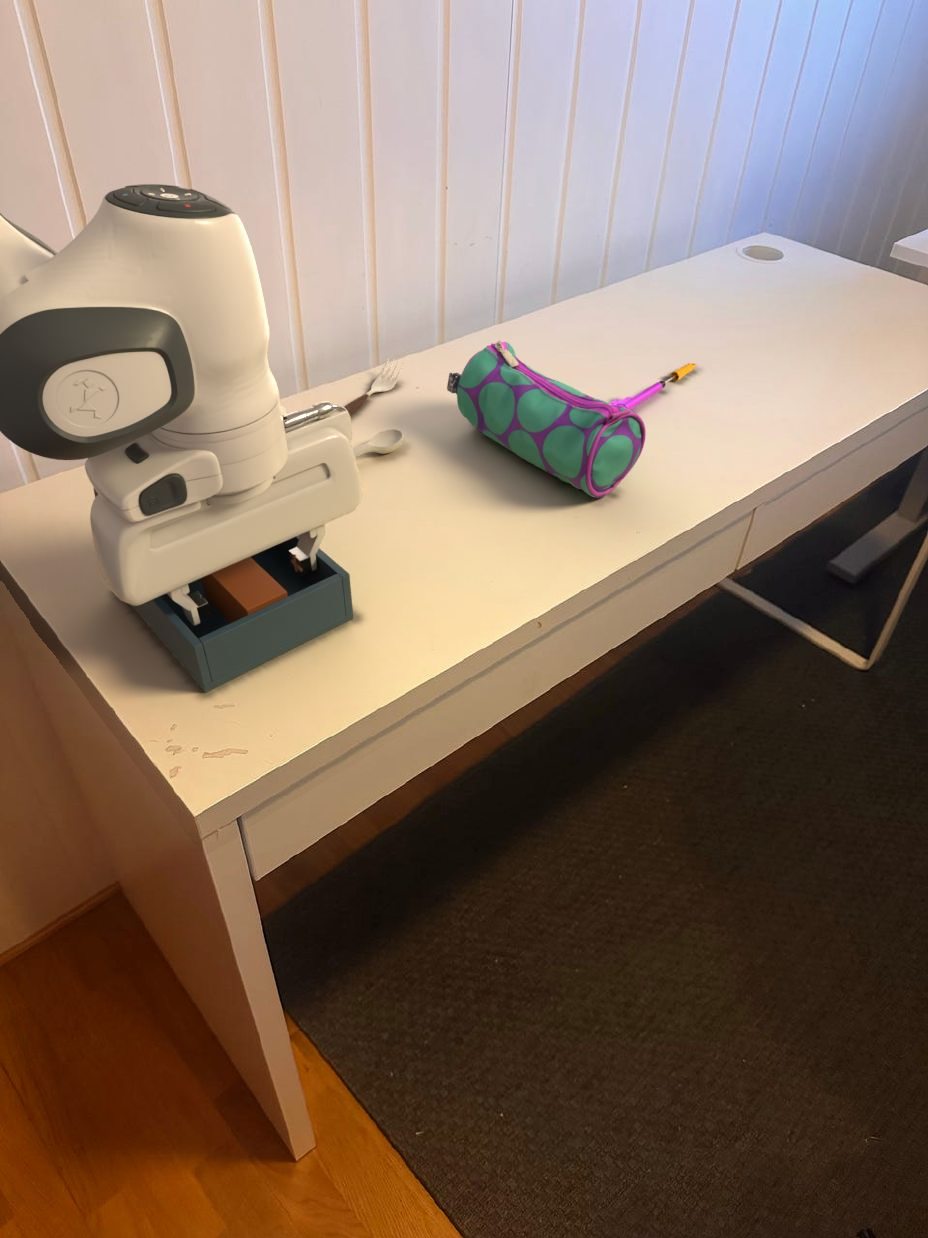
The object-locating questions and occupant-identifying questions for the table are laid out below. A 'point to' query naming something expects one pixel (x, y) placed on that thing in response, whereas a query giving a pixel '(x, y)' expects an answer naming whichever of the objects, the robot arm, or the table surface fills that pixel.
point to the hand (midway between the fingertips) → (253, 593)
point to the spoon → (381, 443)
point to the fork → (376, 387)
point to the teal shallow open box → (254, 619)
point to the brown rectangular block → (241, 589)
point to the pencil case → (548, 421)
